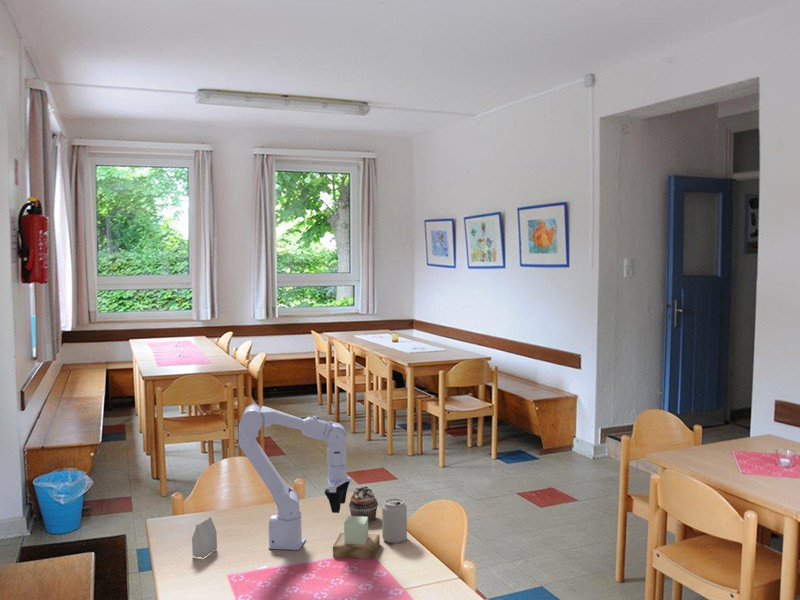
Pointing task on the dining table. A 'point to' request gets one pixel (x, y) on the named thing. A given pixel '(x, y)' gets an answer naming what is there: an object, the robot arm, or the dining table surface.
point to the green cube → (356, 530)
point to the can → (394, 521)
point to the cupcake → (363, 503)
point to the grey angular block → (204, 538)
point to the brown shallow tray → (356, 547)
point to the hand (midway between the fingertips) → (338, 507)
